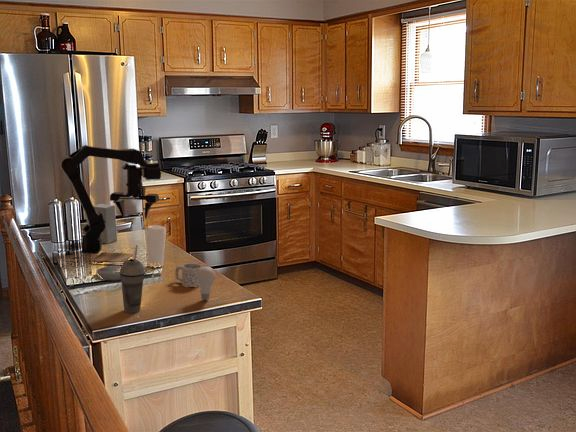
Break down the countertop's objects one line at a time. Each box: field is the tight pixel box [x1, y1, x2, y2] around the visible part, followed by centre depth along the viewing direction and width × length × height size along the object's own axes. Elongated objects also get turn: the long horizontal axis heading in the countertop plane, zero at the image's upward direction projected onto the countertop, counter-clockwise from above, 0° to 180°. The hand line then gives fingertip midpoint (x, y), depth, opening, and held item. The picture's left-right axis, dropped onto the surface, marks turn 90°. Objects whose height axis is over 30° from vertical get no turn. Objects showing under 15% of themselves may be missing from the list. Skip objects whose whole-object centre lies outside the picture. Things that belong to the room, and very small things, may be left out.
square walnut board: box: [92, 251, 134, 263], centre depth 226 cm, size 12×12×2 cm
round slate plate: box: [96, 265, 121, 282], centre depth 208 cm, size 13×13×2 cm
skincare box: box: [93, 203, 118, 244], centre depth 252 cm, size 8×7×16 cm
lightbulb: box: [196, 266, 217, 301], centre depth 186 cm, size 6×6×11 cm
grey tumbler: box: [146, 224, 167, 267], centre depth 220 cm, size 7×7×15 cm
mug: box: [174, 263, 203, 288], centre depth 202 cm, size 10×7×7 cm
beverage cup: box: [120, 244, 146, 314], centre depth 173 cm, size 7×7×20 cm
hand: (134, 218), depth 243 cm, fingers open, 9 cm apart
